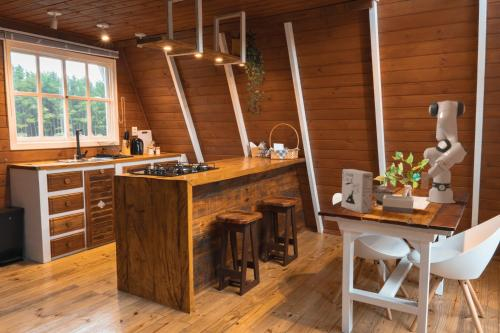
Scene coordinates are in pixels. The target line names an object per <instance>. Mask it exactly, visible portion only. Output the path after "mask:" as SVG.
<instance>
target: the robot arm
mask: <svg viewBox="0 0 500 333" xmlns="http://www.w3.org/2000/svg"><path fill="white" fill-rule="evenodd" d="M465 106H466V105H465V103H464V102H463V101H453V100H444V101H434V102H432V103H430V106H429V108H428V113H429V115H430V116H431V117H433V118H437V122H436V129H435V130H436V131H435V134H436V136H435V139H436V140H437V143H436V144H435V147H428V148H426V149H425V150H424V151H423V158H424V160H425V159H429V161H428V162H427V163H428V164H429V165H430V168H429V169H428V170H427V173H429V174H428V175H427V176H426V177H424V178H423V179H424V180H425V181H426V180H427V179H429V180H430V178H431V179H433V181H432V184H431V185H432V187H431V188H430V189H429V191H428V197H427V198H426V200H425V201H426V202H431V203H435V204H456V201H455V200H453V199H454V198H453V197H454V194H453V189H451V188H452V183H451V180H452V179H451V178H452V177H451V176H452V173H451V171H450V169H451V168H452V167H453V166H454V165H455V164H459V163H462V161H463V160H464V158H465V156H466V155H467V154H468V150H467V147H466V146H465V145H464V144H463V143H462V142H459V132H458V124H457V120H458V118H460V117H462V116H463V115H464V113H465V112H466V107H465Z"/></svg>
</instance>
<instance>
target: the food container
mask: <svg viewBox="0 0 500 333" xmlns="http://www.w3.org/2000/svg"><path fill="white" fill-rule="evenodd" d="M374 194H375V201H376V202H375V203H376V206H377V205H378V206H383V197H384V195H395V194H394V191H393V190H391V189H382V188H381V189H375V191H374Z"/></svg>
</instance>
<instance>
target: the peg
mask: <svg viewBox="0 0 500 333" xmlns="http://www.w3.org/2000/svg"><path fill="white" fill-rule="evenodd" d="M428 174H429V173H428V172H423V171H422V172H421V185H420V190H429V181H430V178H429V179H427V180H426V181H425V180H424V179H423V178H424V177H426V176H427V175H428Z"/></svg>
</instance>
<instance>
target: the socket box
mask: <svg viewBox="0 0 500 333" xmlns="http://www.w3.org/2000/svg"><path fill="white" fill-rule="evenodd" d="M381 206H382V212H395V213H404V214H405V213H406V214H407V213H408V214H413V213H414V196H407V195H406V196H405V195H395V194H393V195H384V197H383V205H381Z"/></svg>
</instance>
